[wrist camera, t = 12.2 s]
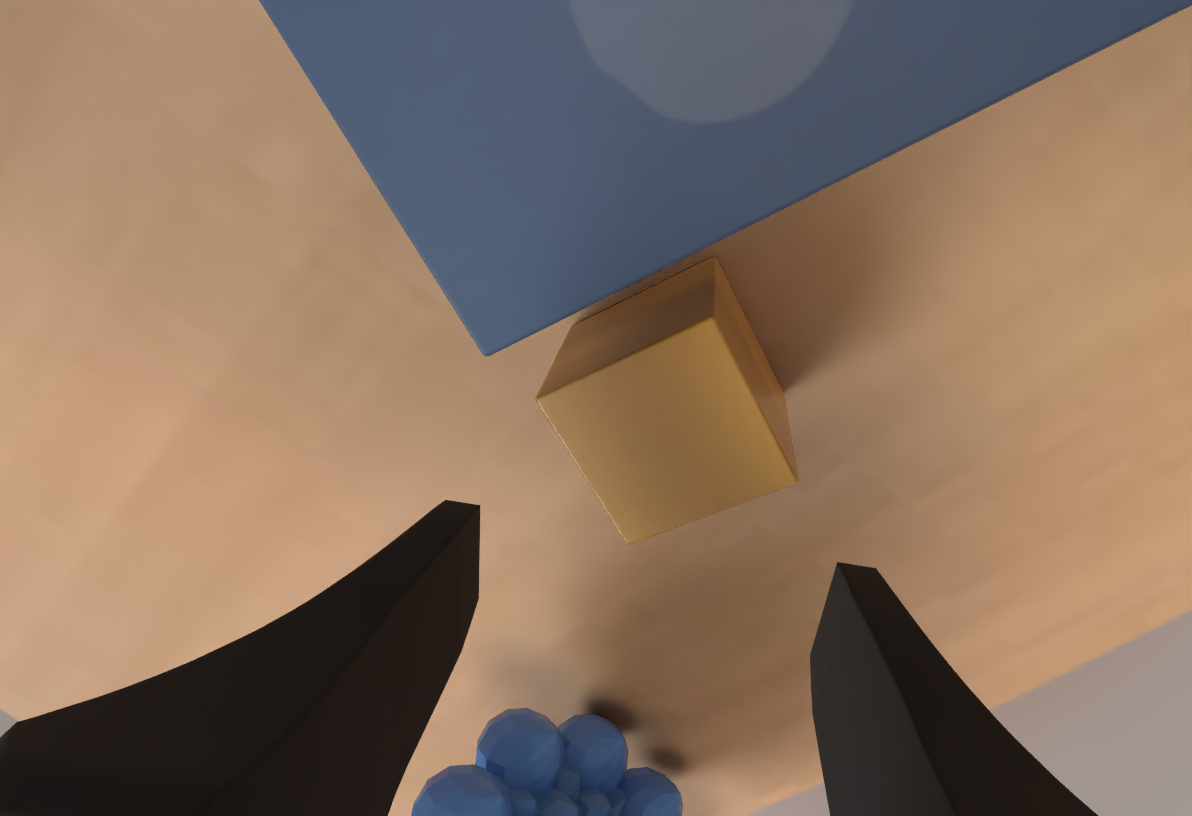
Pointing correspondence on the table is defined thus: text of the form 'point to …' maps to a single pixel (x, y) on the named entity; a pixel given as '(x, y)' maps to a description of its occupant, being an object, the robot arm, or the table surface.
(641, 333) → the block
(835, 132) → the lid
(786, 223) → the table surface
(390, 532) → the table surface
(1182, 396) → the table surface
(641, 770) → the grapes
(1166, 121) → the table surface
